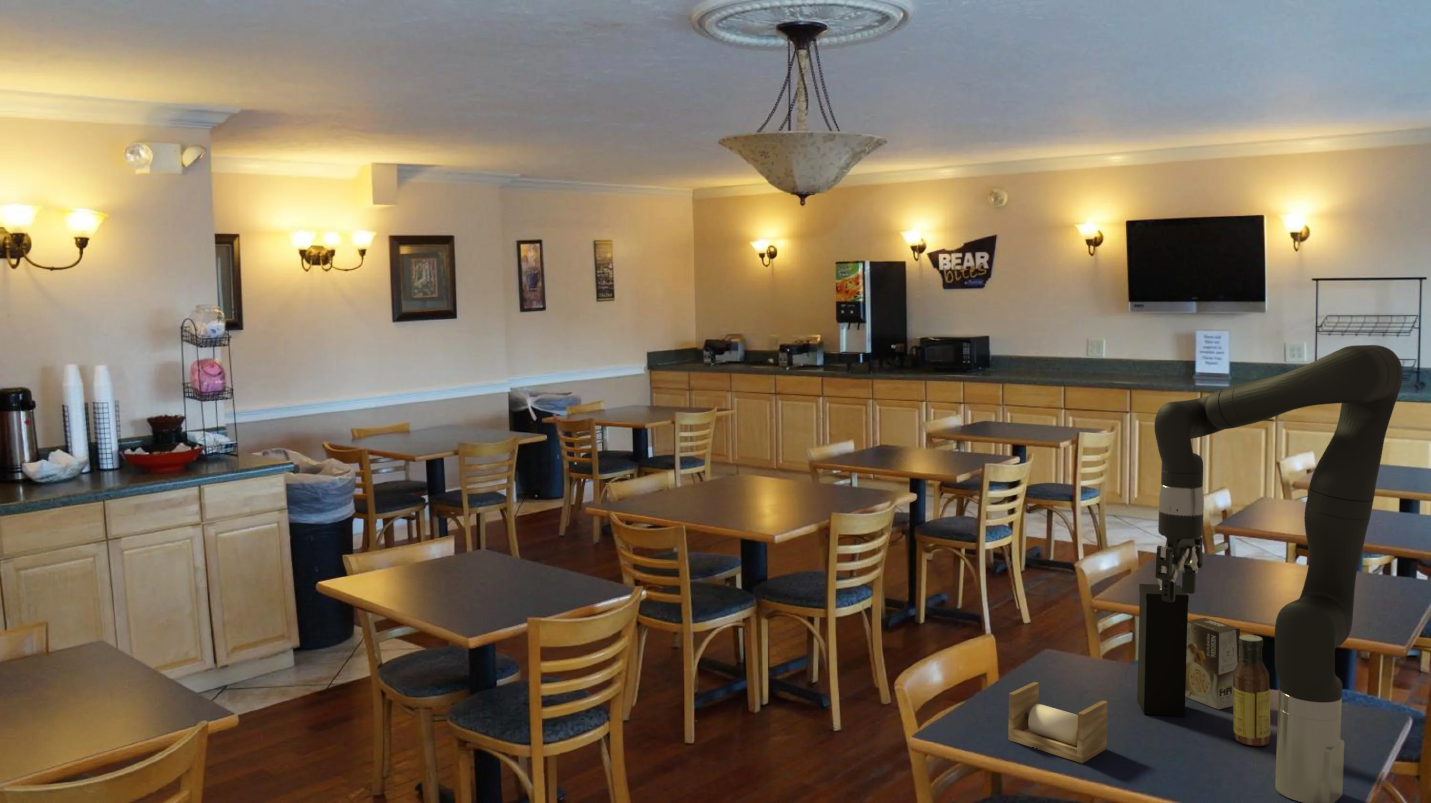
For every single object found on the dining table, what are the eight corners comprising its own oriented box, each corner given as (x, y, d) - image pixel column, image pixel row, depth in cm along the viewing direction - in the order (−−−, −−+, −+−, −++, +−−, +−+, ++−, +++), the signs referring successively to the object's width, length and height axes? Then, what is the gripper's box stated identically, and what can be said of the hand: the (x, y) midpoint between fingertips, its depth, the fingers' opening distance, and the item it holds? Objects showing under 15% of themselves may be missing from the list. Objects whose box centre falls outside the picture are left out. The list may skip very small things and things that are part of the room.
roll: (1089, 743, 202) (1091, 714, 202) (1075, 750, 198) (1076, 720, 198) (1039, 728, 209) (1041, 700, 209) (1024, 734, 205) (1026, 706, 205)
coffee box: (1240, 705, 223) (1242, 628, 221) (1217, 710, 220) (1220, 632, 219) (1202, 690, 231) (1205, 616, 230) (1181, 695, 228) (1183, 620, 227)
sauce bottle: (1265, 736, 207) (1269, 633, 205) (1273, 749, 201) (1277, 643, 199) (1228, 733, 208) (1231, 631, 207) (1234, 745, 202) (1237, 641, 201)
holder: (1106, 748, 201) (1107, 701, 201) (1082, 763, 195) (1083, 714, 194) (1033, 726, 212) (1034, 681, 211) (1008, 739, 206) (1008, 693, 205)
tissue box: (1185, 717, 216) (1189, 578, 214) (1143, 714, 218) (1146, 577, 215) (1176, 703, 224) (1180, 569, 222) (1136, 700, 226) (1139, 567, 223)
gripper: (1184, 518, 191) (1182, 608, 193) (1218, 507, 201) (1215, 593, 202) (1143, 512, 197) (1140, 600, 198) (1177, 502, 206) (1175, 586, 208)
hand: (1178, 596), depth 200 cm, fingers open, 8 cm apart
